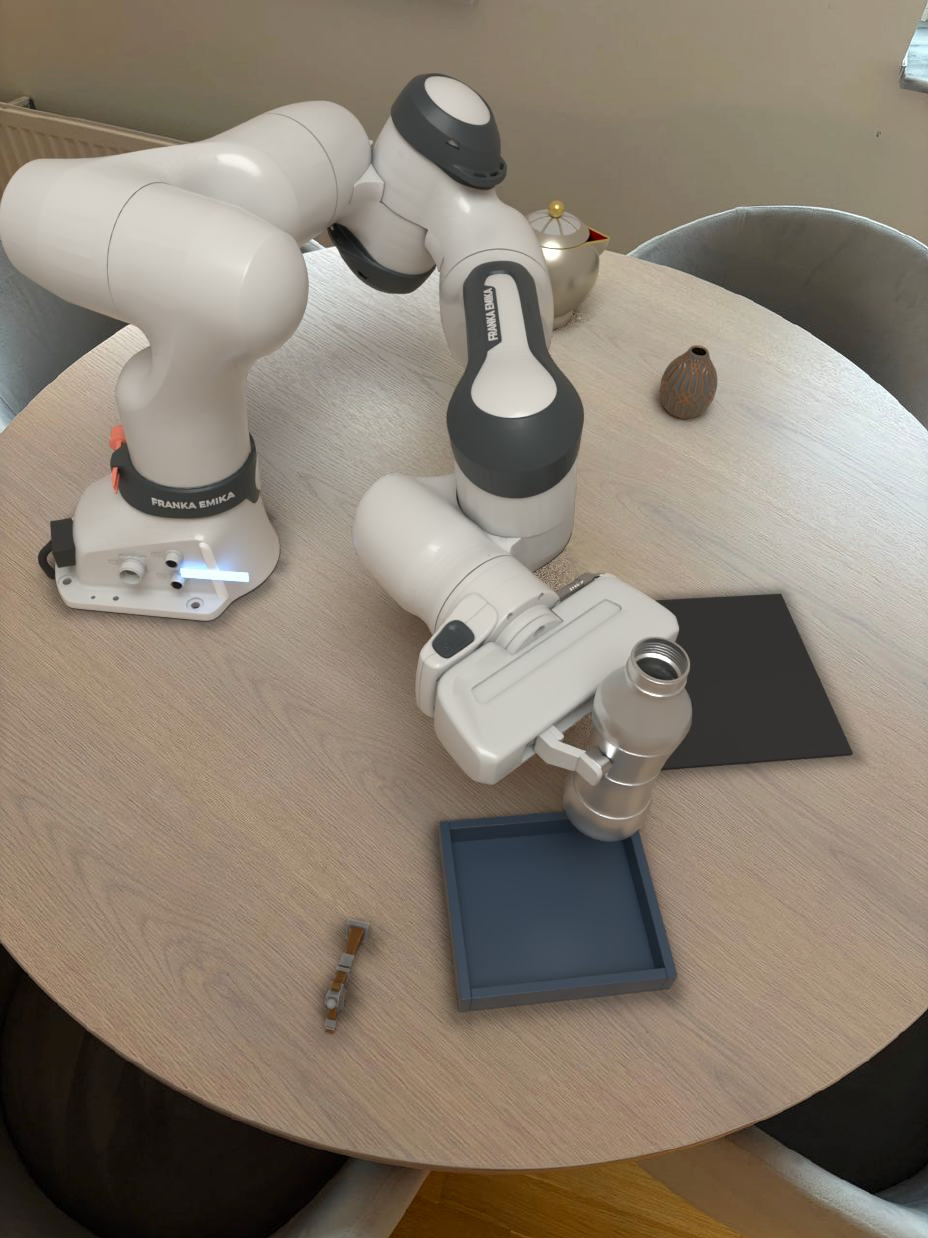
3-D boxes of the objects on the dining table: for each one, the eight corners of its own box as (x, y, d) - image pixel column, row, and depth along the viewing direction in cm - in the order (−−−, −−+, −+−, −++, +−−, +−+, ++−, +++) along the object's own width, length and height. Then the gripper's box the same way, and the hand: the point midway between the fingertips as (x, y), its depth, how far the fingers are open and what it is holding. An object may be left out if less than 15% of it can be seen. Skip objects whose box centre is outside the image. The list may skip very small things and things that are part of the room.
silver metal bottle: (580, 763, 77) (633, 602, 62) (656, 804, 75) (729, 649, 60) (543, 823, 73) (589, 668, 58) (622, 868, 71) (690, 720, 56)
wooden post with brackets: (313, 1040, 69) (318, 996, 67) (342, 958, 76) (347, 916, 74) (337, 1046, 69) (343, 1002, 67) (364, 963, 76) (370, 921, 74)
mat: (647, 771, 87) (648, 769, 86) (599, 605, 99) (600, 602, 99) (851, 755, 89) (853, 753, 89) (780, 595, 102) (781, 593, 102)
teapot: (596, 297, 137) (618, 185, 125) (589, 350, 129) (612, 236, 116) (474, 278, 138) (483, 165, 126) (459, 330, 129) (467, 214, 117)
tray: (458, 1012, 72) (461, 1000, 70) (437, 836, 81) (439, 821, 79) (669, 989, 74) (678, 976, 72) (625, 820, 83) (631, 805, 81)
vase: (707, 430, 119) (727, 372, 112) (652, 420, 120) (669, 361, 113) (709, 397, 124) (728, 339, 117) (656, 388, 124) (672, 329, 117)
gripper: (591, 590, 79) (720, 697, 73) (399, 717, 70) (528, 853, 63) (605, 537, 74) (744, 647, 68) (401, 665, 65) (541, 806, 59)
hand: (639, 747), depth 66 cm, fingers closed on silver metal bottle, 6 cm apart
